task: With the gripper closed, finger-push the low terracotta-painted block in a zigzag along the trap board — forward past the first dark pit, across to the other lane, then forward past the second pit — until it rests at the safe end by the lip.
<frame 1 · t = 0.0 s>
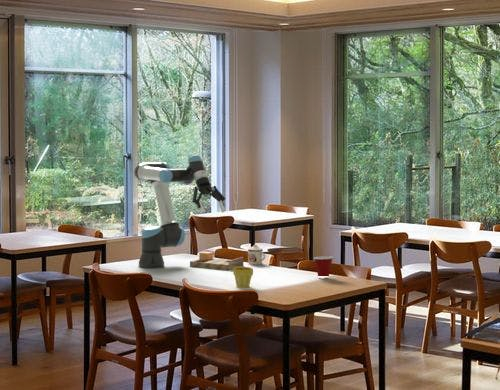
hand: (213, 212, 510), 36 cm above the table, tool tilted 35°, fingers open, 13 cm apart
plastic cup: (323, 278, 510), on the table
block: (206, 259, 555), point 3 cm above the table, touching trap board
teacup with lid: (257, 264, 557), on the table
trap board: (216, 266, 547), on the table
plant pot: (243, 287, 482), on the table
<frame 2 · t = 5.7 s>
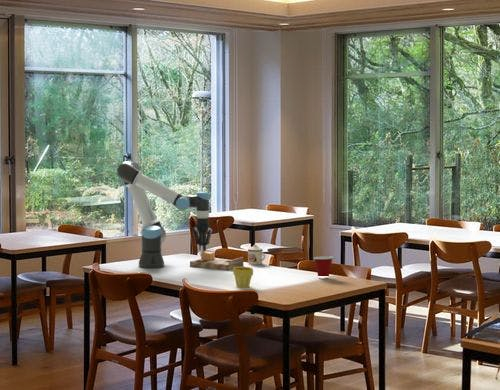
hand: (202, 256, 556), 5 cm above the table, tool pointing down, fingers closed
block: (207, 259, 555), point 3 cm above the table
everything else where it was.
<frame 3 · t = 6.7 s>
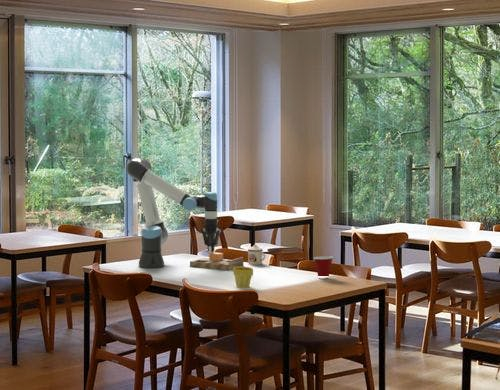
hand: (210, 256, 554), 5 cm above the table, tool pointing down, fingers closed
block: (216, 259, 552), point 3 cm above the table, touching gripper, trap board
everything else where it was.
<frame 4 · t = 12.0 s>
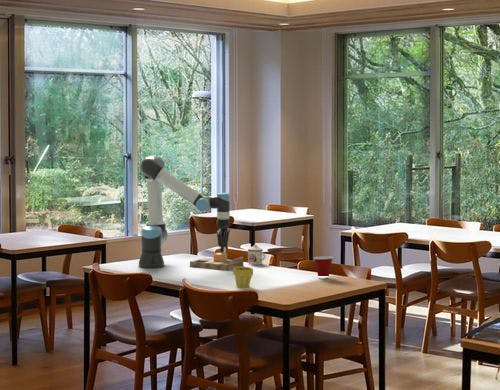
hand: (222, 257, 553), 4 cm above the table, tool pointing down, fingers closed
block: (220, 260, 550), point 3 cm above the table, touching gripper
everything else where it was.
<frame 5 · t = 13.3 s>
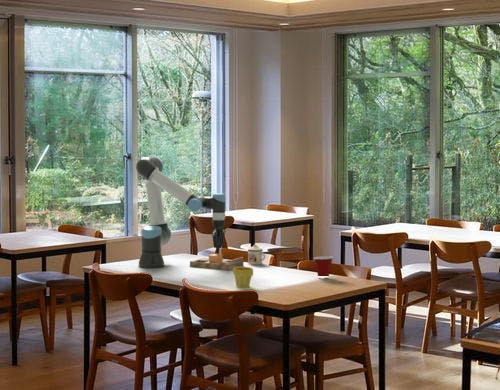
hand: (218, 258, 548), 4 cm above the table, tool pointing down, fingers closed
block: (215, 261, 545), point 3 cm above the table, touching trap board
everything else where it was.
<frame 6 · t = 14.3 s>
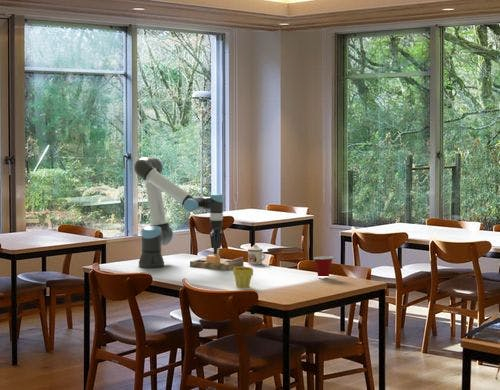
hand: (216, 259, 546), 4 cm above the table, tool pointing down, fingers closed
block: (213, 262, 543), point 3 cm above the table, touching gripper, trap board
everything else where it was.
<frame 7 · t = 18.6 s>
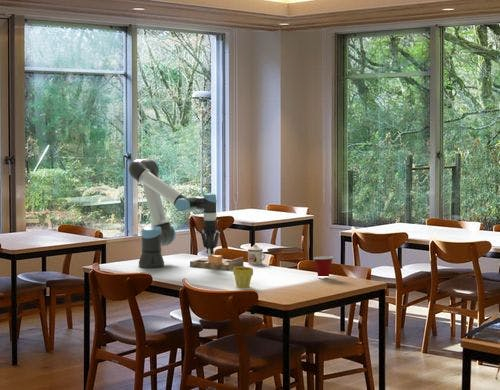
hand: (210, 259, 543), 5 cm above the table, tool pointing down, fingers closed
block: (215, 262, 542), point 3 cm above the table, touching gripper, trap board
everything else where it was.
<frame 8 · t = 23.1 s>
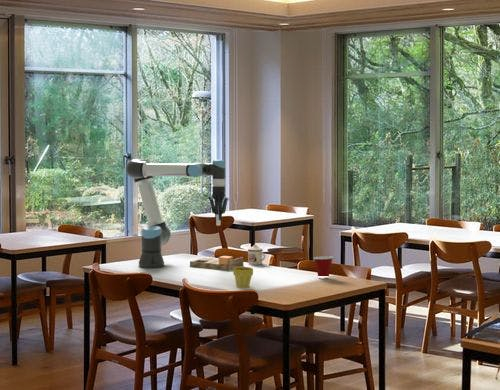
hand: (218, 225, 547), 24 cm above the table, tool pointing down, fingers closed
block: (225, 263, 538), point 3 cm above the table, touching trap board
everything else where it was.
at the end: block inside the target area (0.7 cm from its centre), point 3.0 cm above the table; block tilted 0° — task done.
